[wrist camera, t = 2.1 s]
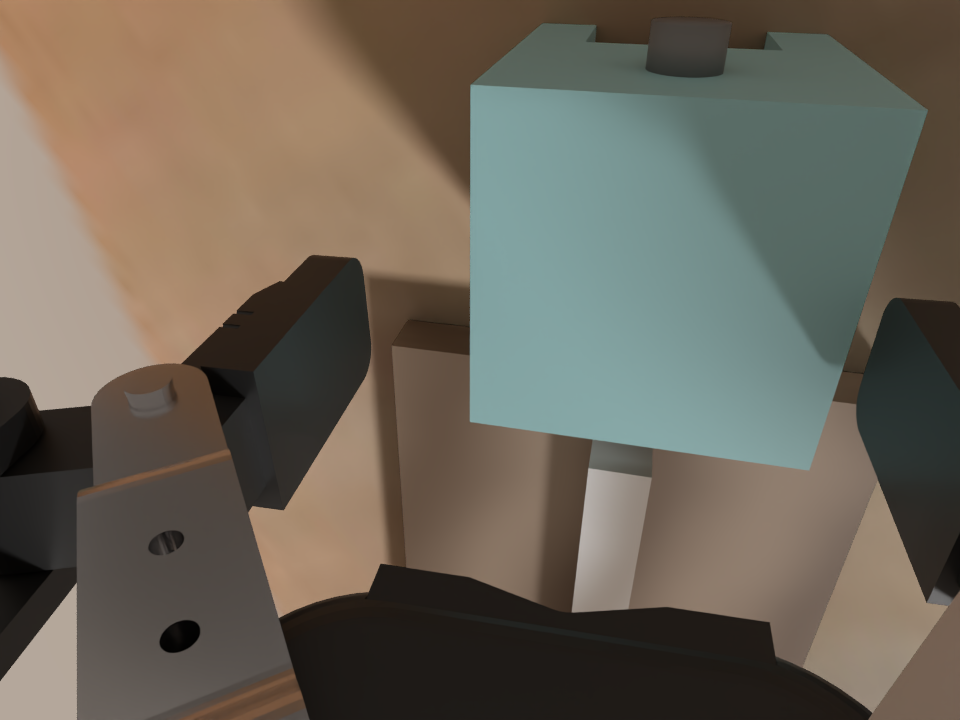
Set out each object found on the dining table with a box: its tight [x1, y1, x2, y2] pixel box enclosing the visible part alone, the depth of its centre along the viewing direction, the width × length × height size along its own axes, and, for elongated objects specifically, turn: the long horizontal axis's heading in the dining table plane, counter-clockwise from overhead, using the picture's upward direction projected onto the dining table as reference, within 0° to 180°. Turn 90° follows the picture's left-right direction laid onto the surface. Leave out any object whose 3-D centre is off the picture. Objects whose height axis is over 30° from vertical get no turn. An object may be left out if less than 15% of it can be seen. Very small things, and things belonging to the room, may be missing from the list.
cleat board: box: [392, 320, 878, 668], centre depth 23 cm, size 13×22×6 cm, turn 0°
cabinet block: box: [470, 17, 928, 470], centre depth 14 cm, size 6×7×7 cm
